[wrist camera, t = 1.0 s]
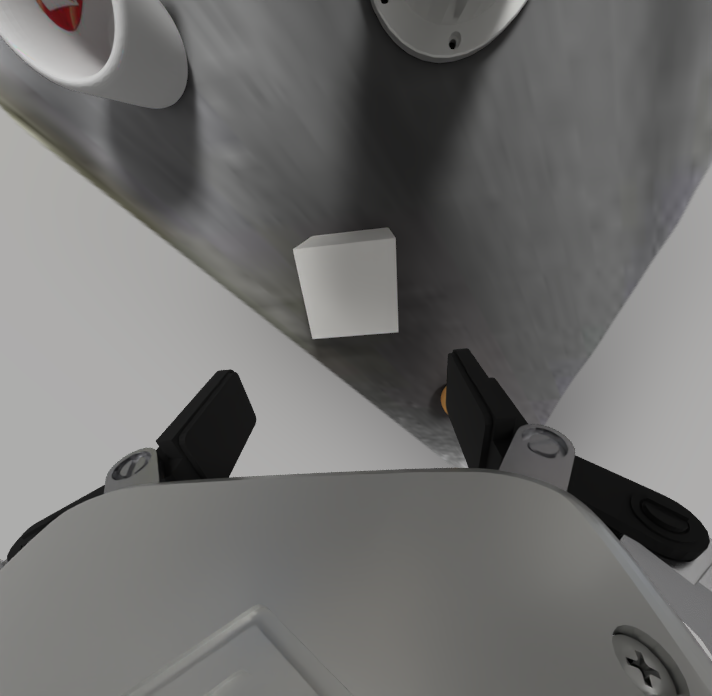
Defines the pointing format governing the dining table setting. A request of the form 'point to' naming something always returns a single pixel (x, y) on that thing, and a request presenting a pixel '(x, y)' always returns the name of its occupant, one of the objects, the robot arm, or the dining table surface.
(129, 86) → the cup
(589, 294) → the dining table surface
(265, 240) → the dining table surface
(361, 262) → the white cube
